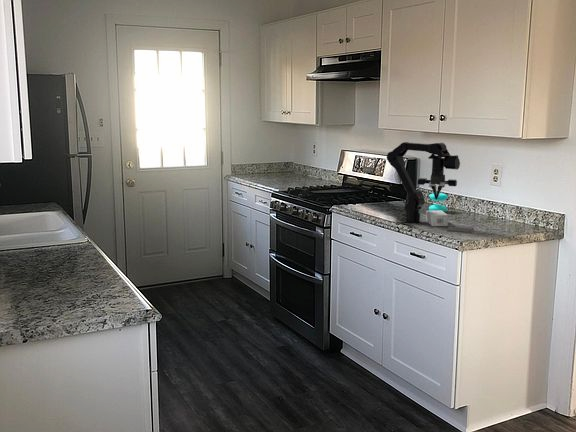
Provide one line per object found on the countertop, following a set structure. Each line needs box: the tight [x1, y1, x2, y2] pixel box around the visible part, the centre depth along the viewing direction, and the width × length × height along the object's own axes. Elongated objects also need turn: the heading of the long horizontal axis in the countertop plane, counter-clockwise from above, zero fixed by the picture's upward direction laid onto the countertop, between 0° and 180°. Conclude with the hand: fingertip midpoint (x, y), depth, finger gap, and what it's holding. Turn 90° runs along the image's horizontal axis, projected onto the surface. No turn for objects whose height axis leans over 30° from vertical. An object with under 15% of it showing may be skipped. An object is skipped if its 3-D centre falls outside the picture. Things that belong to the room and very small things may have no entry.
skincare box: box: [425, 209, 449, 227], centre depth 305 cm, size 8×6×15 cm
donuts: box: [428, 192, 449, 213], centre depth 343 cm, size 10×10×10 cm
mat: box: [446, 224, 474, 234], centre depth 293 cm, size 11×14×1 cm
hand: (436, 199), depth 301 cm, fingers closed
